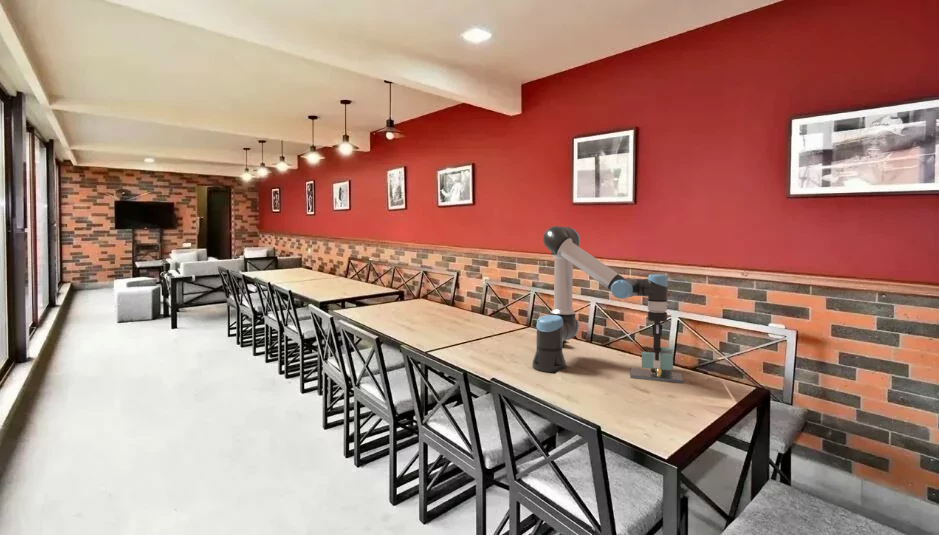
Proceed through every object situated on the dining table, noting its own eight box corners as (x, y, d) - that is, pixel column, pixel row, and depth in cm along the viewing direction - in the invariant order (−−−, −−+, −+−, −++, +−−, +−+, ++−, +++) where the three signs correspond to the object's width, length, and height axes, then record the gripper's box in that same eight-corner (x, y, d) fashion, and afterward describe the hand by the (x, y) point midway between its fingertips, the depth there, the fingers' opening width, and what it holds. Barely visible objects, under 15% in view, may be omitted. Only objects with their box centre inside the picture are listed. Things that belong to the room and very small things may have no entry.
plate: (630, 377, 188) (630, 366, 188) (631, 370, 199) (631, 360, 199) (683, 383, 181) (683, 371, 180) (680, 375, 192) (681, 364, 192)
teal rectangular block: (641, 367, 190) (641, 351, 190) (642, 365, 194) (642, 349, 194) (672, 370, 185) (672, 353, 185) (672, 367, 189) (672, 351, 189)
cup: (674, 373, 195) (674, 350, 195) (655, 372, 197) (655, 349, 196) (669, 369, 203) (670, 347, 202) (651, 368, 204) (652, 346, 204)
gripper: (668, 314, 179) (667, 372, 180) (666, 309, 195) (665, 362, 196) (647, 313, 182) (647, 370, 183) (647, 308, 198) (646, 361, 199)
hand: (656, 366), depth 189 cm, fingers closed on teal rectangular block, 4 cm apart
